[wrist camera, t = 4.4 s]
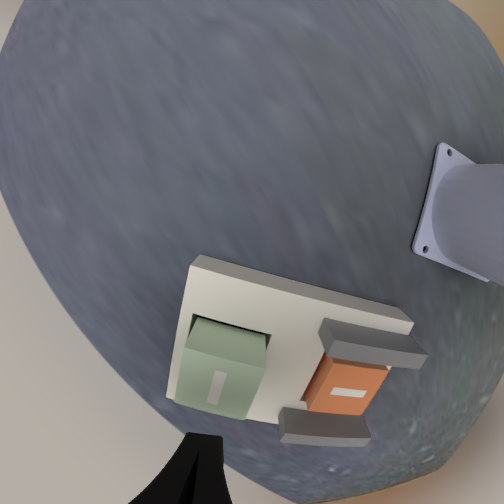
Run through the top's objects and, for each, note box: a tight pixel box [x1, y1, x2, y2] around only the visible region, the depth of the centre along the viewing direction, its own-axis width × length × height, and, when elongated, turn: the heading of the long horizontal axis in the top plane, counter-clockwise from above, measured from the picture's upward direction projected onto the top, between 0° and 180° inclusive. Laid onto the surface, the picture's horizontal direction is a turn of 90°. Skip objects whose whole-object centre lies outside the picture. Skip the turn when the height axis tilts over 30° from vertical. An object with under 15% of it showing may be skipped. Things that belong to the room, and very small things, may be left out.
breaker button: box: [304, 351, 389, 415], centre depth 16 cm, size 4×4×3 cm
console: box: [166, 254, 428, 447], centre depth 16 cm, size 14×10×5 cm
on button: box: [174, 317, 266, 420], centre depth 14 cm, size 4×4×3 cm
